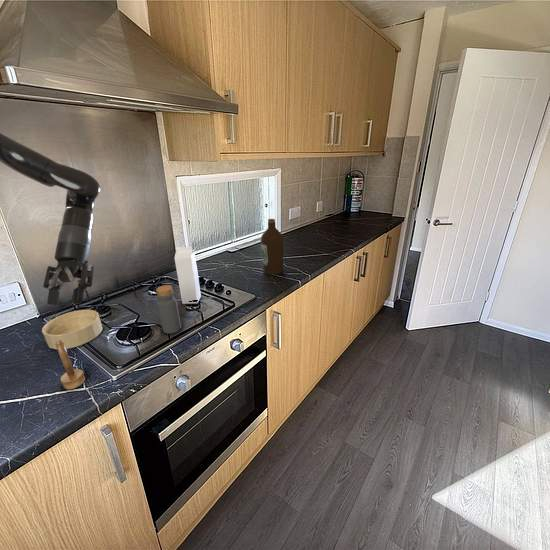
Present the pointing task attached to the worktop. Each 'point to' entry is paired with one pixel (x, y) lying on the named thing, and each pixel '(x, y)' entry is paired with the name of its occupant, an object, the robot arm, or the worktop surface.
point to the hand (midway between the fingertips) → (64, 304)
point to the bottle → (168, 309)
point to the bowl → (72, 328)
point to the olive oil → (272, 249)
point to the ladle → (69, 369)
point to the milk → (187, 275)
